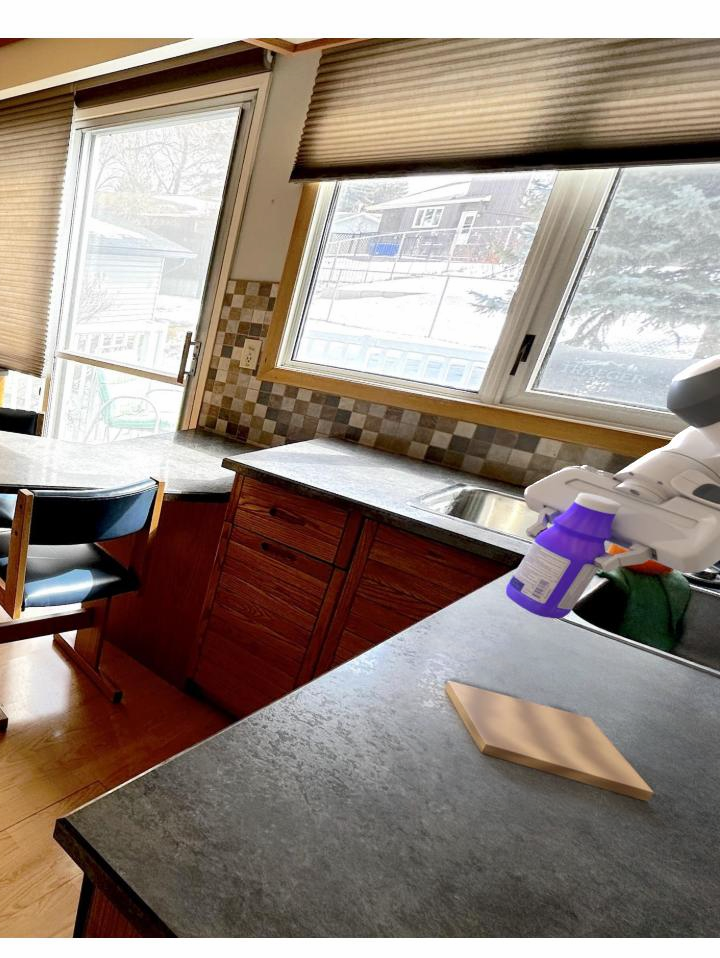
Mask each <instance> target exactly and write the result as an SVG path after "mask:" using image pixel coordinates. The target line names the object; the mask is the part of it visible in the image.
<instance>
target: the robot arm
mask: <svg viewBox="0 0 720 958" xmlns="http://www.w3.org/2000/svg"><path fill="white" fill-rule="evenodd" d="M666 408H667V410H669V412H671V413H673V414H674V415H675V416H677V417H678V418H679V419H680V420H682V421H684V423H686V424H687V425H689V427H687V428H685V429H684V430H682V431H681V432H679V433H677V434H676V435H675V436H674V437H673V438H672V440H671V441H670V442H669V443H668V444H667V445H665V446H662V447H661V448H656V449H655V450H651V451H649V452H648V453H647V454H645V455H643V456H642V457H640V458H638V459H637V460H635V461H634V462H632V463H630V464H629V465H628V466H626V467H624V468H623V469H622V470H620V471H618V472H617V473H612V472H609V471H605V470H601V469H598V468H596V467H594V466H591V465H586V464H585V465H582V466H581V465H574V466H571V465H569V466H565V467H563V468H562V469H561V470H559V471H557V472H554V473H552V474H549V475H548V476H546V477H544V478H542V479H540V480H538V481H536V482H534V483H533V484H531V485H529V486H527V487H526V488H525V489H524V493H523V497H524V501H525V504H526V506H527V508H528V509H529V510H531V511H533V512H536V513H538V515H537V518H536V520H535V523H534V524H531V525H530V526H528V528H526V530H525V532H526V536H527V537H529V538H530V539H533V540H535V538H536V537H537V536H538V535H539V534H540V533H541V532H543V531H544V530H546V529H548V528H549V527H548V524H549V525H554V518H556V517H558V516H560V515H561V514H563V513H564V512H566V511H567V510H568V509H569V508H570V506H571V505H572V504H573V503H574V501H575V500H576V498H577V497H578V495H579V494H580V493H588V494H593V495H598V496H601V497H604V498H608V499H610V500H613V501H615V502H617V503H619V504H620V505H621V507H620V508H619V510H618V511H617V513H616V515H615V517H614V519H613V521H612V525H611V534H612V537H611V538H610V539H608V540H606V541H605V542H608V543H610V544H613V545H615V546H617V547H619V548H621V549H624V550H627V551H624V552H620V553H614V554H611V553H609V552H606V551H605V553H603V554H601V557H597V558H595V559H594V561H593V562H594V564H595V565H594V566H595V567H597V568H599V570H601V571H603V572H605V573H608V574H609V573H612V572H613V571H614V570H617V569H618V568H620V567H627V566H628V567H629V566H634V565H635V566H636V565H641V564H642V565H643V564H644V563H647V562H648V561H649V560H651V561H652V562H655V563H658V564H661V565H663V566H665V567H668V568H670V569H673V570H674V571H677V572H679V573H682V574H695V573H702V572H704V571H706V570H707V569H709V568H710V567H712V566H714V565H716V564H717V563H719V561H720V353H719V354H716V355H713V356H710V357H708V358H705V359H703V360H701V361H698V362H696V363H694V364H692V365H690V366H689V367H687V368H686V369H684V370H683V371H682V372H680V373H678V374H676V375H675V376H674V377H673V378H672V379H671V382H670V385H669V387H668V391H667V397H666Z"/></svg>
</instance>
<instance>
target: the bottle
mask: <svg viewBox="0 0 720 958" xmlns="http://www.w3.org/2000/svg"><path fill="white" fill-rule="evenodd" d="M620 507H621V505H620V504H619V503H617V502H615V501H613V500H610V499H608V498H604V497H601V496H598V495H593V494H588V493H580V494H579V495H578V497H577V498H576V500H575V501H574V503H573V504H572V505H571V506H570V508H569V509H568V510H567V511H566V512H564V513H563V514H561V515H560V516H558V517H556V518H554V524H552V525H551V526H550V527H548V529H546V530H544V531H543V532H541V533H540V534H539V535H538V536H537V537H536V538H535V539H533V540H534V541H532V543H531V545H530V547H529V548H528V550H527V552H526V554H525V555H524V557H523V558H522V559H521V562H520V564H519V565H518V567H517V569H516V570H515V572H514V573H513V575H512V576H511V578H510V580H509V582H508V583H507V585H506V588H505V594H506V597H508V598H509V599H510V601H512V602H514V603H515V604H517V605H518V606H519V607H521V608H522V609H524V610H526V611H527V612H529V613H531V614H533V615H536V616H538V617H542V618H549V619H563V618H565V617H566V616H568V615H569V614H570V613H571V612H572V610H573V609H574V607H575V606H576V604H577V603H578V601H579V600H580V598H581V597H582V595H583V594H584V592H585V591H586V589H587V588H588V586H589V585H590V583H591V582H592V580H593V579H594V578H595V576H596V574H597V573H598V571H599V570H600V569H599V568H597V567H595V566H594V565H595V564H594V562H593V561H594V559H595V558H597V557H601V554H603V553H605V552H606V545H605V543H606V542H607V541H606V540H608V539H610V538H611V537H612V534H611V525H612V521H613V519H614V517H615V515H616V513H617V511H618V510H619V508H620Z"/></svg>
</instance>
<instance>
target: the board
mask: <svg viewBox="0 0 720 958" xmlns="http://www.w3.org/2000/svg"><path fill="white" fill-rule="evenodd" d="M444 690H445V692H446V694H447V696H448V698H449V699H450V700H451V703H452V704H453V706H454V707H455V709H456V711H457V713H458V715H459V716H460V718H461V720H462V722H463V723H464V726H465V727H466V729H467V730H468V732H469V734H470V736H471V738H472V739H473V741H474V742H475V744H476V746H477V748H478V750H479V751H480V753H481V754H483V755H487V756H491V757H494V758H498V759H500V760H504V761H508V762H511V763H514V764H517V765H521V766H525V767H528V768H532V769H535V770H539V771H541V772H545V773H548V774H552V775H554V776H555V775H556V776H559V777H562V778H566V779H569V780H573V781H575V782H579V783H582V784H586V785H588V786H589V785H590V786H592V787H596V788H600V789H603V790H606V791H608V792H609V791H610V792H613V793H617V794H620V795H622V796H626V797H630V798H633V799H636V800H641V801H644V802H647V803H648V802H649V801H650V799H651V798H652V797H653V795H654V794H655V791H653V790H652V788H651V787H650V786H649V785H648V783H647V782H646V781H645V780H644V779H643V778H642V777H641V775H639V773H638V772H637V771H636V769H634V767H633V766H632V765H631V764H630V763H629V761H628V760H627V759H626V758H625V757H624V755H623V754H621V753H620V751H619V750H618V748H616V746H615V745H614V744H613V743H612V741H610V739H609V738H608V737H607V736H606V735H605V734H604V733H603V731H602V730H601V728H599V727H598V726H597V724H596V723H595V722H594V721H593V720H592V719H591V718H590V717H588V716H584V715H581V714H577V713H574V712H570V711H566V710H562V709H560V708H554V707H551V706H547V705H543V704H539V703H536V702H531V701H528V700H524V699H521V698H516V697H513V696H510V695H505V694H501V693H498V692H493V691H490V690H486V689H483V688H479V687H475V686H472V685H467V684H463V683H459V682H457V681H453V680H447V682H446V684H445V686H444Z"/></svg>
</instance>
